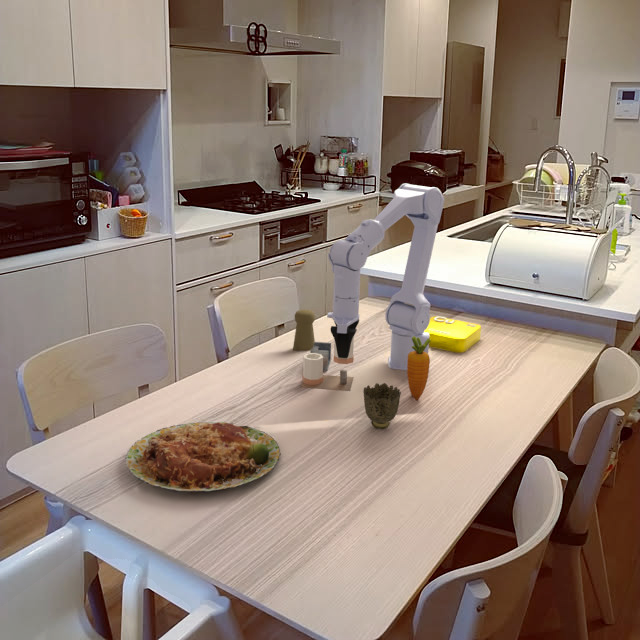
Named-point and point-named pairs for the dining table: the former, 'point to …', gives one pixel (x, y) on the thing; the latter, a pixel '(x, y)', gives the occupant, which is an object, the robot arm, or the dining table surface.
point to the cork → (304, 330)
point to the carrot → (418, 368)
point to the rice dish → (202, 456)
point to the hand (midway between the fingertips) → (344, 353)
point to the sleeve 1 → (313, 368)
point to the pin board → (334, 382)
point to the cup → (381, 404)
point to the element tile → (452, 334)
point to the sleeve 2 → (344, 360)
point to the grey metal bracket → (323, 353)
